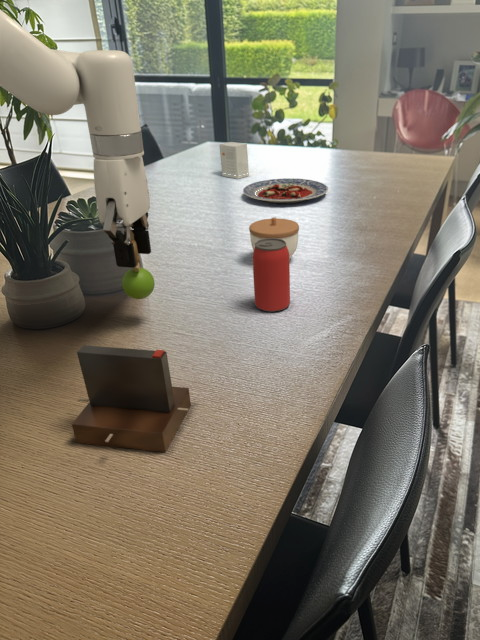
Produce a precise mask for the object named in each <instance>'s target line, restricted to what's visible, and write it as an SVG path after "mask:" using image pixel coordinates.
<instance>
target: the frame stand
mask: <svg viewBox="0 0 480 640" xmlns="http://www.w3.org/2000/svg"><path fill="white" fill-rule="evenodd" d="M172 390H173V396H174V403H175V405H174V407H173V408H172V410H171V412H170V413H169V412H159V411H148V410H138V409H128V408H117V407H107V406H97V405H90V402H89V398H78V399H77V401H78V402H86V403H87V404H86V405H85V407H84V408H83V409H82V411H81V412H80V413H79V414H78V415H77V417H76V418H75V419H74V420H73V422H72V423H71V428H72V432H73V434H74V438H75V441H76V443H77V444H84V445H85V444H87V445H96V446H104V447H113V448H125V449H132V450H141V451H151V452H161V453H166V452H167V450H169V447H170V445H171V443H172V441H173V440H174V438H175V436H176V434H177V432H178V430H179V429H180V426H181V425H182V423H183V421H184V420H185V417H186V415H188V412H189V410H190V409H191V407H192V404H191V396H190V395H191V394H190V388H189V387H184V386H183V387H181V386H172Z"/></svg>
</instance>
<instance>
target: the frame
mask: <svg viewBox="0 0 480 640" xmlns="http://www.w3.org/2000/svg"><path fill="white" fill-rule="evenodd" d="M76 355H77V359H78V363H79V366H80V370H81V375H82V379H83V382H84V386H85V390H86V395H87V399H89V401H88V403H89V402H90V405H97V406H107V407H117V408H128V409H138V410H148V411H159V412H169V413H170V412H171V410H172V408H173V407H174V405H175V403H174V396H173V390H172V387H173V385H172V379H171V378H172V377H171V371H170V365H169V360H168V359H169V358H168V352H167V351H165V350H164V349H156V350H152V349H151V350H149V349H139V348H126V347H114V346H113V347H111V346H101V345H99V346H98V345H86V344H84V345H82V346H81V347H80V349H78V350H77V351H76Z"/></svg>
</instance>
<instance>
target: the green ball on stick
mask: <svg viewBox="0 0 480 640" xmlns="http://www.w3.org/2000/svg"><path fill="white" fill-rule="evenodd" d="M131 227H132V224H131V225H130V228H131ZM130 230H131V231H130V243H133V246H134V253H135V260H136V266H135V267H134V268H129V269H128V270H126V271H125V272H124V274H123V276H122V279H121V287H122V290H123V292H124V293H125V294H126V295H127V296H128V297H130V298H131V299H135V300H143V299H146V298H148V297H150V296H151V294H152V293H153V291H154V290H155V279H154V276H153V274H152V273H151V272H150V271H149V270H148V269H146V268H144V267H141V265H140V264H141V260H140V256H139V254H138V250H137V244H136V241H135V240H134V234H133V232H132V230H133V229H130Z"/></svg>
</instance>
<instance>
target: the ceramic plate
mask: <svg viewBox="0 0 480 640" xmlns="http://www.w3.org/2000/svg"><path fill="white" fill-rule="evenodd" d="M262 188H263V189H262ZM260 189H261V190H260ZM258 190H259V191H258ZM256 191H257V192H256ZM328 191H329V186H328V185H326V184H325V183H323V182H320V181H317V180H312V179H307V178H273V179H271V178H270V179H266V180H259V181H256V182H252V183H250V184H248V185H246V186H245V187H243V189H242V192H243V194H244V195H245V196H246V197H248V198H251V199H255V200H259V201H264V202H267V203H272V204H293V203H302V202H305V201H308V200H311V199H315V198H319V197H321V196H323V195H325V194H326V193H328ZM255 192H256V195H257V196H256V195H255Z"/></svg>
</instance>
